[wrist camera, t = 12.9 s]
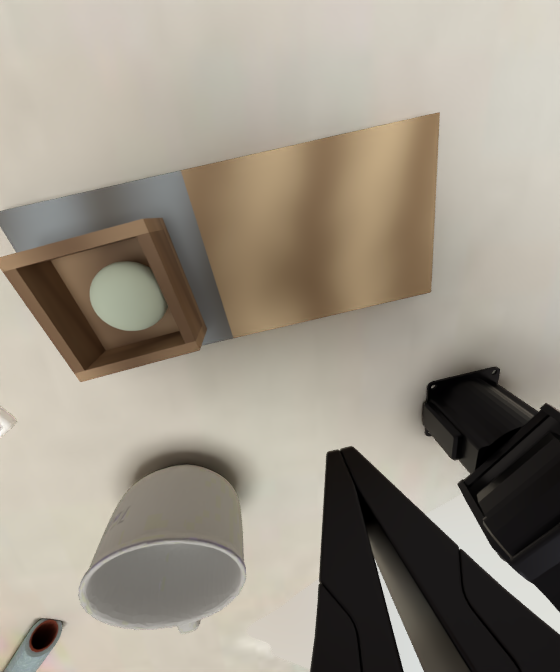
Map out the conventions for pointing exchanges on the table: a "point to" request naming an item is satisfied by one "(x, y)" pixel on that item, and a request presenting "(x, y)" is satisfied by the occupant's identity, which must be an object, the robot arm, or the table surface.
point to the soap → (6, 421)
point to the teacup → (168, 553)
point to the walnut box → (75, 306)
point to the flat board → (278, 225)
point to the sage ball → (127, 296)
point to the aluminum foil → (35, 646)
